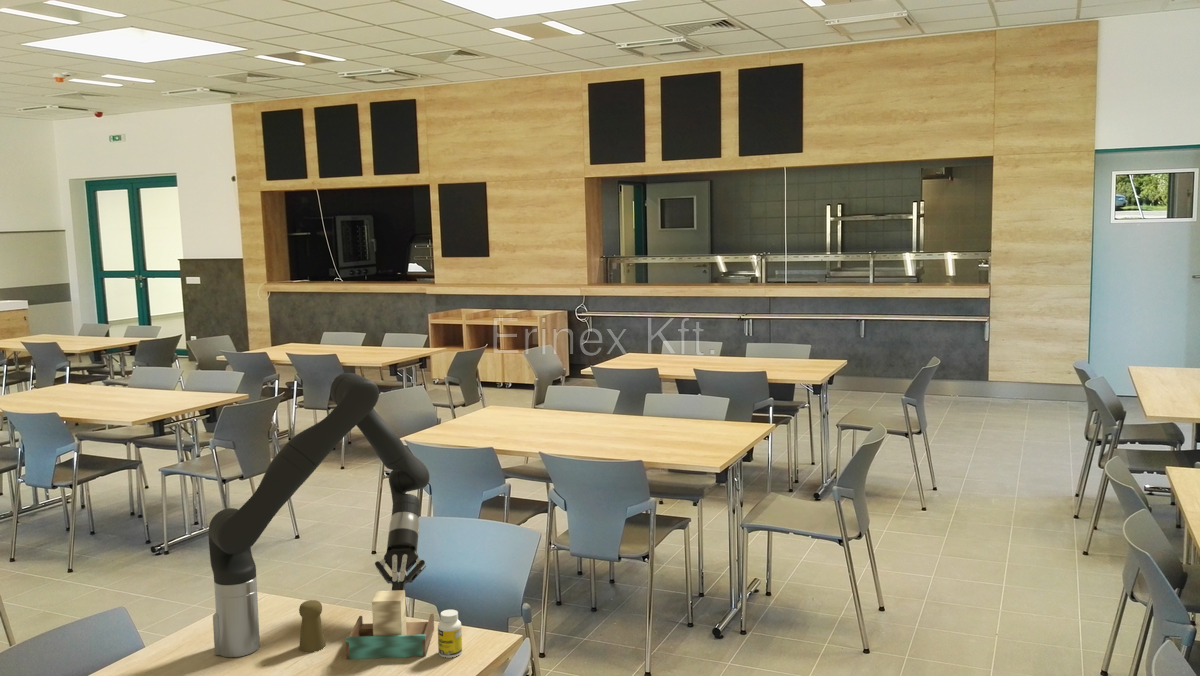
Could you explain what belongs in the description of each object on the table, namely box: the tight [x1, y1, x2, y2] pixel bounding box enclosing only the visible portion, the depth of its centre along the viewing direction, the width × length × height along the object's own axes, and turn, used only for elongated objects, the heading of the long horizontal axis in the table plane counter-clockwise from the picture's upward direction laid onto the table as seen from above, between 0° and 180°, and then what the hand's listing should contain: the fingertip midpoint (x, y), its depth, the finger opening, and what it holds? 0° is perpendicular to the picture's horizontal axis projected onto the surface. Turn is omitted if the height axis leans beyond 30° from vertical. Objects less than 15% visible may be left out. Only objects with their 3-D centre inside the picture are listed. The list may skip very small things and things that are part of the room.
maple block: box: [371, 589, 407, 636], centre depth 218 cm, size 6×6×11 cm
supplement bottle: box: [437, 609, 463, 659], centre depth 216 cm, size 5×5×10 cm
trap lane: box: [345, 613, 435, 660], centre depth 222 cm, size 18×15×5 cm
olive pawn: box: [298, 599, 327, 653], centre depth 221 cm, size 6×6×11 cm
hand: (397, 598), depth 229 cm, fingers closed
